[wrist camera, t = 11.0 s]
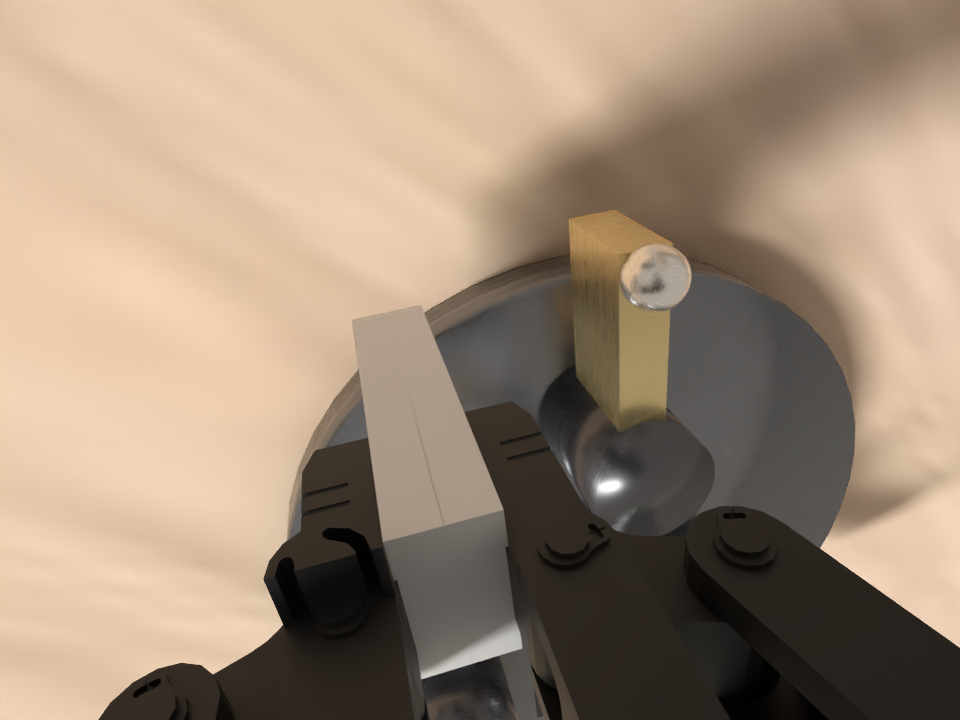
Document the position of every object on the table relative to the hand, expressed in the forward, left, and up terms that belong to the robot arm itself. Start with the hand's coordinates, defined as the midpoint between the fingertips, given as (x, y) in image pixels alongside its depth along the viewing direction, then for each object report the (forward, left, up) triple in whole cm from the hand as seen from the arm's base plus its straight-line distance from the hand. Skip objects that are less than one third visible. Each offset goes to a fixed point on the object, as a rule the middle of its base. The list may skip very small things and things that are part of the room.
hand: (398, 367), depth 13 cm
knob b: (-1, +6, -2) cm, 6 cm away
